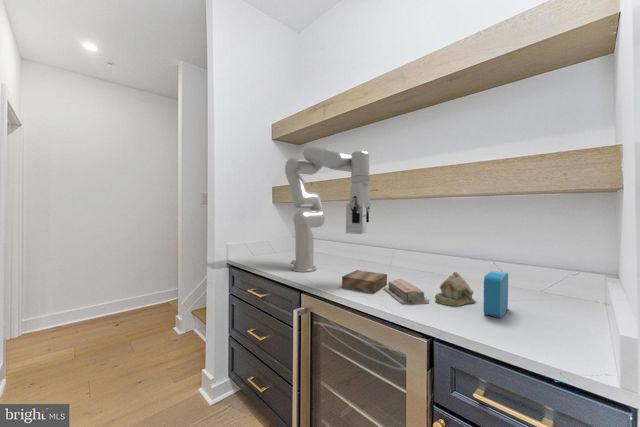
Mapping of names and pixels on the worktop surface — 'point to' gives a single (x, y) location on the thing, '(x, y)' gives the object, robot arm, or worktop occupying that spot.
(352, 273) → the walnut block
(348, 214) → the supplement box
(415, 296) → the packaged product
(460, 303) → the ceramic model
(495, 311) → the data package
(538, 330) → the worktop surface
